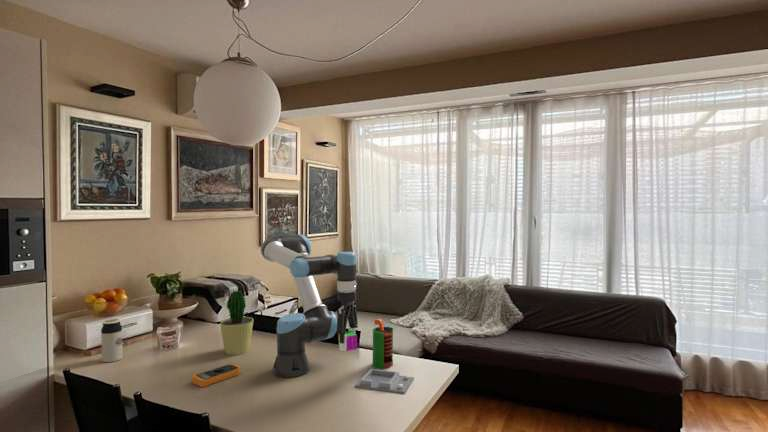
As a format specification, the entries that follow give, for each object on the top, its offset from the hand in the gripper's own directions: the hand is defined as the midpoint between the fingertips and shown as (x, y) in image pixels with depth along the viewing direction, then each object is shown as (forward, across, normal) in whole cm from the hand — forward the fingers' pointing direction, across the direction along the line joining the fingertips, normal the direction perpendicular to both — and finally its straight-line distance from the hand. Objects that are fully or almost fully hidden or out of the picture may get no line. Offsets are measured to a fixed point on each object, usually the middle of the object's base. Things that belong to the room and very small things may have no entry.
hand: (347, 347), depth 172 cm
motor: (+14, +20, -8) cm, 26 cm away
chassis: (+14, +2, -15) cm, 20 cm away
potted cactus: (+13, +15, +65) cm, 68 cm away
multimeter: (+14, -15, +52) cm, 56 cm away
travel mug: (+13, -12, +113) cm, 114 cm away
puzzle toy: (+1, 0, 0) cm, 1 cm away
